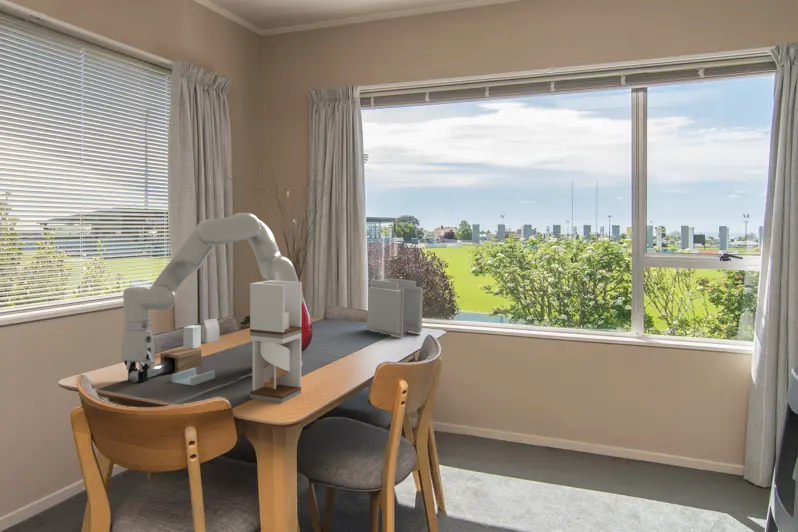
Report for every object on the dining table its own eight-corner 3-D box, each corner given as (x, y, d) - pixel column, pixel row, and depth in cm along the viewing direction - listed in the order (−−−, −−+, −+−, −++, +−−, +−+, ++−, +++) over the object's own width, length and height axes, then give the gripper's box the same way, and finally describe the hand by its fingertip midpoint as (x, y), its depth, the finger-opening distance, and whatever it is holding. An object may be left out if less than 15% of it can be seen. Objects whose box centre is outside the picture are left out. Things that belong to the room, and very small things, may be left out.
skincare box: (192, 358, 216) (192, 328, 215) (183, 357, 217) (182, 327, 216) (201, 355, 222) (201, 325, 221) (191, 354, 223) (191, 324, 222)
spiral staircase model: (250, 397, 168) (250, 283, 166) (270, 388, 178) (270, 280, 176) (282, 402, 164) (282, 285, 162) (301, 393, 174) (301, 282, 172)
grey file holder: (386, 326, 291) (387, 277, 289) (423, 334, 272) (424, 281, 270) (361, 330, 279) (362, 279, 277) (398, 339, 260) (399, 283, 258)
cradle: (215, 381, 184) (215, 370, 184) (193, 389, 175) (192, 378, 175) (194, 378, 188) (194, 367, 188) (171, 386, 179) (171, 374, 178)
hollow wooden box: (201, 369, 199) (201, 349, 199) (178, 377, 189) (178, 355, 189) (184, 367, 203) (184, 346, 202) (160, 374, 192) (160, 353, 192)
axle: (170, 369, 193) (169, 359, 193) (178, 369, 192) (177, 359, 192) (129, 382, 178) (128, 371, 178) (137, 383, 176) (136, 372, 176)
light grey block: (219, 340, 249) (219, 318, 248) (206, 343, 243) (206, 320, 243) (214, 339, 251) (214, 317, 250) (201, 342, 245) (201, 319, 245)
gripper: (165, 326, 178) (166, 382, 179) (128, 321, 184) (129, 376, 185) (146, 330, 171) (147, 388, 172) (108, 325, 177) (109, 381, 179)
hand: (137, 381), depth 179 cm, fingers closed on axle, 3 cm apart
